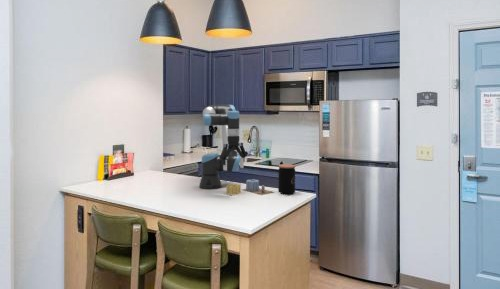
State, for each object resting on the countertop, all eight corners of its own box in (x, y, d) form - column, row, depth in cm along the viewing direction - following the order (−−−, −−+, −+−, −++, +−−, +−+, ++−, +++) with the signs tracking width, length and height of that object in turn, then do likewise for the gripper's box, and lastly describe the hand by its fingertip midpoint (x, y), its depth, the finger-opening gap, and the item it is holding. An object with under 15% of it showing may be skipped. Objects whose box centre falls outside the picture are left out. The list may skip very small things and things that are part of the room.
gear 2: (243, 190, 240) (243, 181, 239) (250, 187, 247) (250, 178, 246) (254, 191, 235) (254, 182, 235) (261, 189, 242) (261, 180, 242)
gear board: (240, 191, 241) (240, 183, 240) (254, 188, 249) (254, 180, 248) (261, 196, 226) (261, 188, 226) (275, 193, 234) (275, 185, 234)
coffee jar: (294, 195, 230) (294, 167, 228) (277, 194, 232) (277, 166, 230) (295, 191, 240) (295, 164, 238) (279, 190, 242) (279, 164, 241)
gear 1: (224, 194, 233) (224, 184, 232) (234, 192, 238) (234, 183, 238) (232, 196, 226) (232, 187, 226) (243, 194, 232) (243, 185, 231)
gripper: (221, 136, 218) (221, 172, 220) (252, 134, 234) (252, 167, 236) (213, 136, 223) (214, 170, 225) (244, 134, 240) (244, 166, 242)
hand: (233, 169), depth 231 cm, fingers open, 13 cm apart
